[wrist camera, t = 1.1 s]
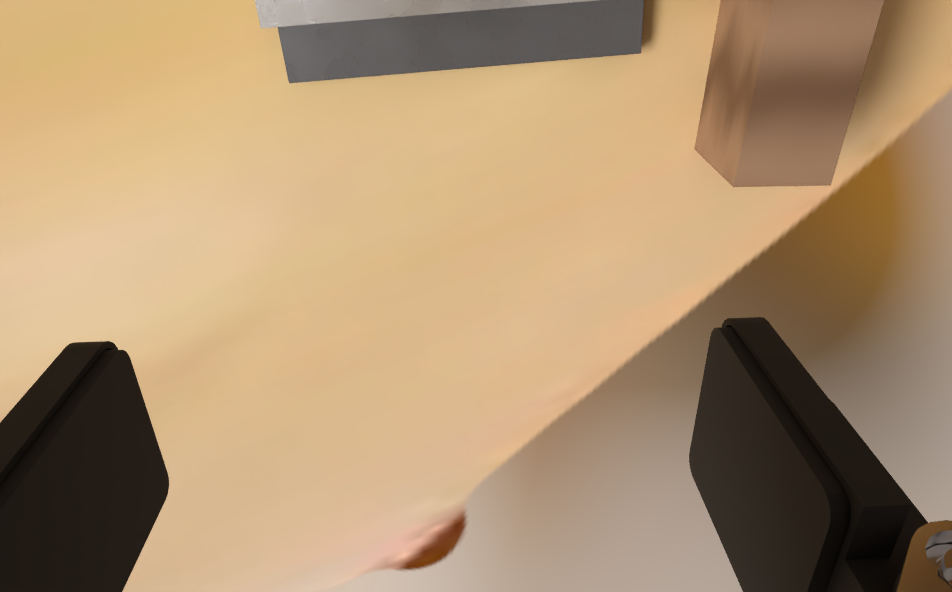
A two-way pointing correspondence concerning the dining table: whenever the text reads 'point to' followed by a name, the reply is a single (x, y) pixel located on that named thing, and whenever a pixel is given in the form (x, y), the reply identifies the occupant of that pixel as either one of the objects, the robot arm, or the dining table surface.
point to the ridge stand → (444, 34)
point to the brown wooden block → (783, 88)
